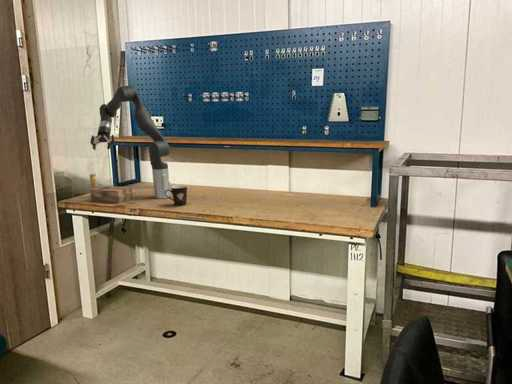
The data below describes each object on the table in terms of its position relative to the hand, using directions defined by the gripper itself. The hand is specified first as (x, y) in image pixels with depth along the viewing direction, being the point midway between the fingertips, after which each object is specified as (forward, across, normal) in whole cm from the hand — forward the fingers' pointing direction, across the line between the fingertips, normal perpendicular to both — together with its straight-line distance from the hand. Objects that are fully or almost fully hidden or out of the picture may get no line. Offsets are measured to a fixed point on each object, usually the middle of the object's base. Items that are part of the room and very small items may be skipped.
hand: (101, 149), depth 256 cm
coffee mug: (+49, +50, -8) cm, 70 cm away
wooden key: (+26, -4, +14) cm, 30 cm away
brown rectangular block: (+34, +9, +6) cm, 36 cm away
